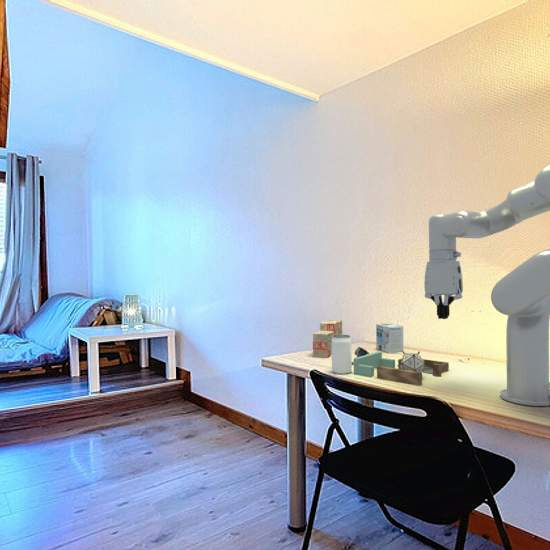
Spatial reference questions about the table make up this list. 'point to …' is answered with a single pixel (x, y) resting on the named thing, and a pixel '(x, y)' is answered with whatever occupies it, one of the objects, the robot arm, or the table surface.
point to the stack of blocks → (326, 338)
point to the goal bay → (371, 363)
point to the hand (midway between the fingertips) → (443, 318)
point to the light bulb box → (389, 337)
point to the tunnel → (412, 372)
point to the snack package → (360, 352)
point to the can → (341, 354)
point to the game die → (412, 362)
